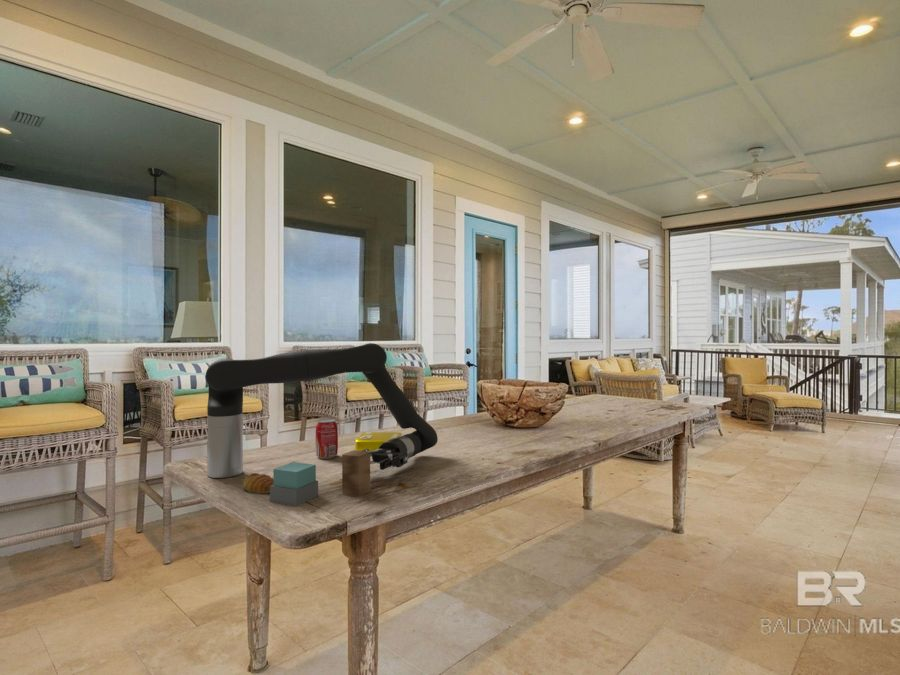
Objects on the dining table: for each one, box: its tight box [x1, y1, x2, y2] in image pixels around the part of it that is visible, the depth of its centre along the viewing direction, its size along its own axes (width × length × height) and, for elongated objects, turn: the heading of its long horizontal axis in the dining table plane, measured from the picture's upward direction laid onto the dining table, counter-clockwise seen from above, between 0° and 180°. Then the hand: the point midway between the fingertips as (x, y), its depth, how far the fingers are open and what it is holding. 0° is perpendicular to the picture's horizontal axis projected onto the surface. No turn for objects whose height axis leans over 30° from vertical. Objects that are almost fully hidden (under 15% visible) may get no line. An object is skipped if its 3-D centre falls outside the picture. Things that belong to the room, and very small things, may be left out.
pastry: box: [242, 472, 274, 494], centre depth 127 cm, size 9×7×4 cm
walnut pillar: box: [341, 449, 371, 498], centre depth 124 cm, size 5×5×10 cm
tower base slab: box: [269, 480, 319, 507], centre depth 120 cm, size 8×8×4 cm
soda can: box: [315, 418, 339, 460], centre depth 160 cm, size 7×7×12 cm
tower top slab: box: [272, 461, 317, 489], centre depth 120 cm, size 7×7×4 cm
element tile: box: [354, 431, 403, 451], centre depth 174 cm, size 15×15×5 cm
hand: (366, 464), depth 129 cm, fingers open, 8 cm apart
